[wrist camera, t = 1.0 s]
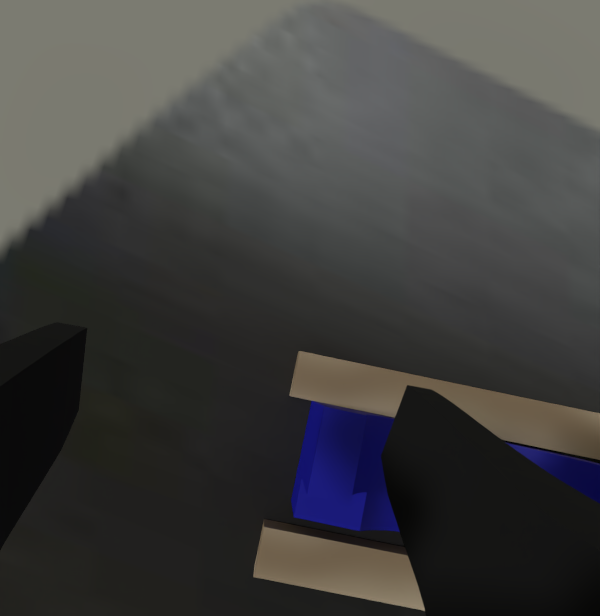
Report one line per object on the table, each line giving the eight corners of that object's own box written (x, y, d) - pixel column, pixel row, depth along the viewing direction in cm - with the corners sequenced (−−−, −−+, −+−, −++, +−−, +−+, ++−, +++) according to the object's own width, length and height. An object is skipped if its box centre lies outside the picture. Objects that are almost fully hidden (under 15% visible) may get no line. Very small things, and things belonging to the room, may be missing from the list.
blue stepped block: (291, 499, 23) (297, 541, 17) (311, 399, 23) (324, 406, 17) (548, 553, 23) (645, 614, 17) (561, 453, 24) (658, 478, 18)
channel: (720, 658, 22) (802, 709, 19) (254, 566, 22) (251, 601, 18) (735, 443, 24) (814, 454, 20) (298, 352, 23) (302, 347, 20)
